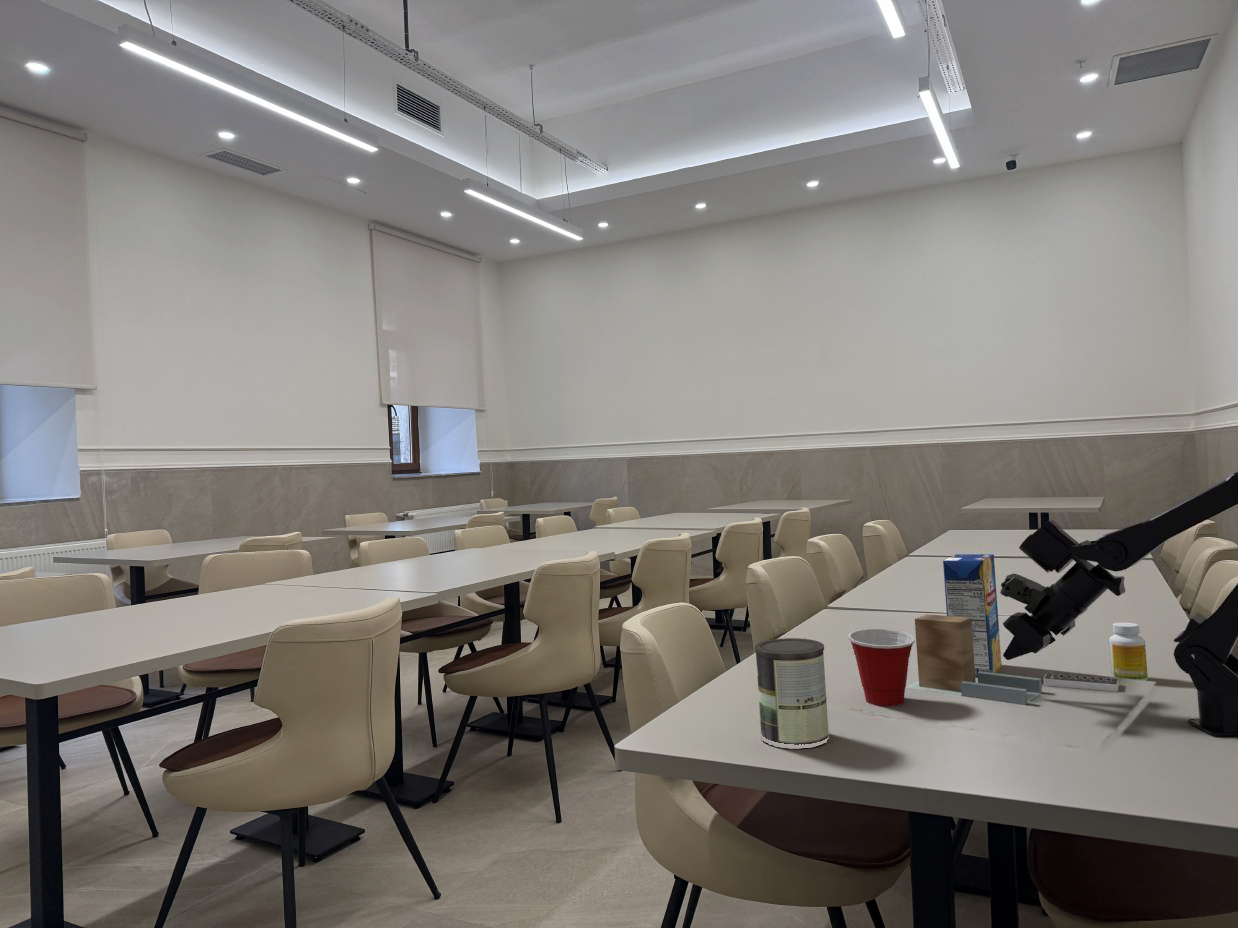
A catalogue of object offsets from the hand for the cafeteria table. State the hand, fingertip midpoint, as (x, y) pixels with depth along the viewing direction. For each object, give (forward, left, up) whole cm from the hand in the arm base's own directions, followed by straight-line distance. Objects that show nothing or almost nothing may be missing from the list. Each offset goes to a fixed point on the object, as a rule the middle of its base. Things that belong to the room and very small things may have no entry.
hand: (1005, 657), depth 133 cm
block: (+6, +8, -6) cm, 12 cm away
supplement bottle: (+11, -24, -7) cm, 27 cm away
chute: (+4, +5, -7) cm, 9 cm away
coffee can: (-19, +36, -7) cm, 41 cm away
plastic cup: (-3, +20, -7) cm, 22 cm away
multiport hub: (+5, -13, -8) cm, 16 cm away
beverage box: (+17, 0, -7) cm, 19 cm away
